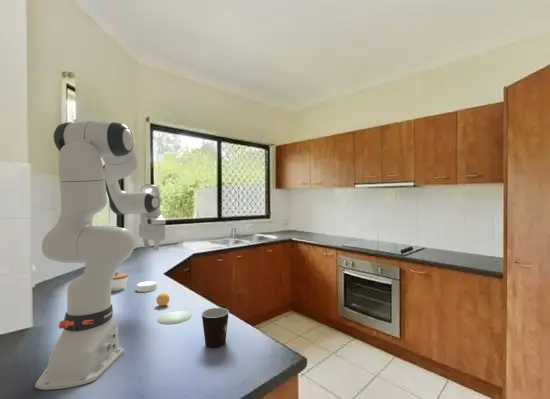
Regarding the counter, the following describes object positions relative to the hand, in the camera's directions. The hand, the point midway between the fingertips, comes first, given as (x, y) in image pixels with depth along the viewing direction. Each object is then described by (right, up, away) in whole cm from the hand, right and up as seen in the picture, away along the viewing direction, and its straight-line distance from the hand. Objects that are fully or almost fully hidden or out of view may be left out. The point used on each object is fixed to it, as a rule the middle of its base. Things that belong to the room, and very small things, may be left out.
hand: (151, 249), depth 132 cm
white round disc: (-12, -26, +21) cm, 36 cm away
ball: (+7, -22, -4) cm, 24 cm away
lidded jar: (-28, -26, +21) cm, 44 cm away
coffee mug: (+39, -24, -39) cm, 60 cm away
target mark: (+17, -24, -18) cm, 35 cm away
